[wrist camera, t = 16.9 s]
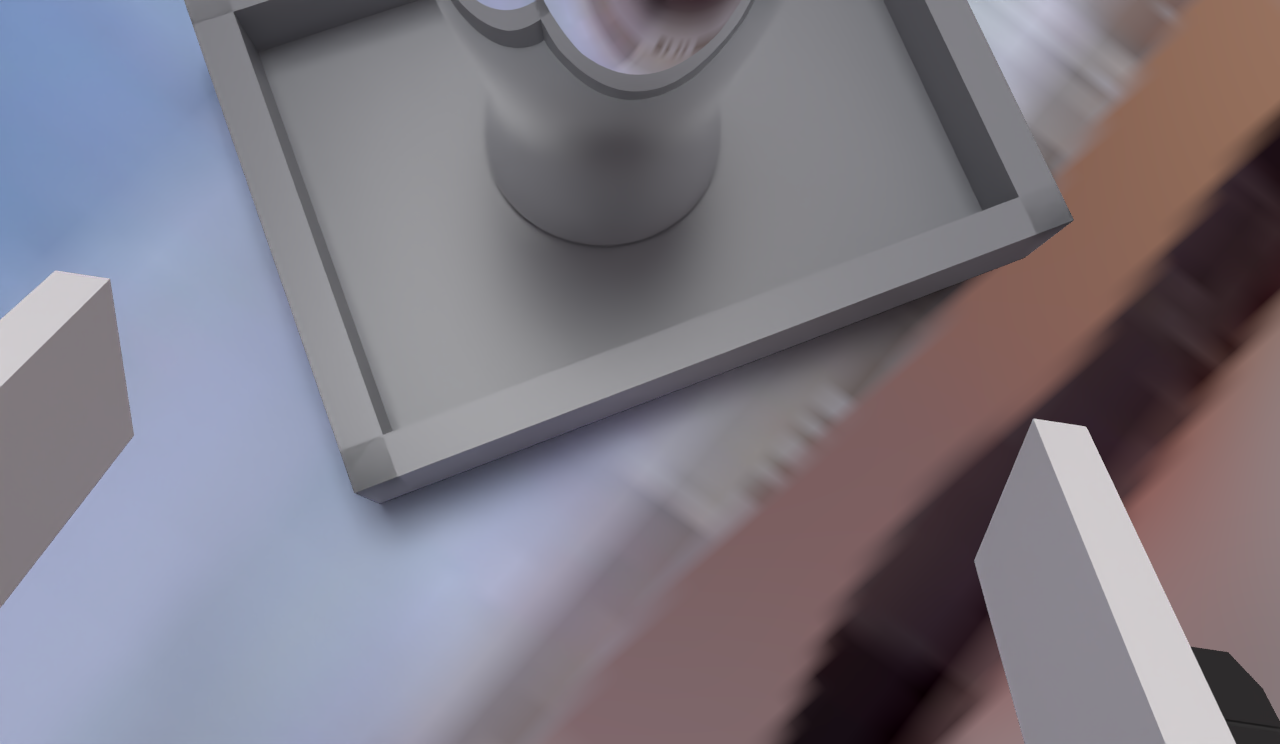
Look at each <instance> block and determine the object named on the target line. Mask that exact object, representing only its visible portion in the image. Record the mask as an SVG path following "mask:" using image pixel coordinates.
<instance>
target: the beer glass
mask: <svg viewBox="0 0 1280 744" xmlns="http://www.w3.org/2000/svg"><path fill="white" fill-rule="evenodd" d="M435 1H436V3H437V5H438V7H439V9H440V11H441V13H442V15H443V17H444V19H445V21H446V23H447V25H448V27H449V28H450V30H451V32H452V33H453V35H454V37H455V38H456V40H457V41H458V43H459V45H460V46H461V48H462V50H463V51H464V53H465V54H466V56H467V58H468V59H469V61H470V62H471V64H472V66H473V67H474V69H475V70H476V72H477V73H478V75H479V76H480V78H481V79H482V81H483V82H484V84H485V85H486V87H487V89H488V90H489V91H488V96H487V101H486V106H485V113H484V124H483V135H484V145H485V152H486V157H487V160H488V164H489V167H490V170H491V172H492V175H493V177H494V179H495V181H496V183H497V185H498V187H499V188H500V190H501V191H502V193H503V194H504V196H505V197H506V198H507V200H508V201H509V202H510V203H511V205H512V206H513V207H514V208H515V209H516V210H517V211H518V212H519V213H520V214H521V215H522V216H524V217H525V218H526V219H527V220H529V221H530V222H531V223H533V224H534V225H536V226H537V227H539V228H540V229H542V230H544V231H546V232H548V233H549V234H552V235H554V236H556V237H559V238H561V239H564V240H567V241H571V242H575V243H579V244H585V245H593V246H614V245H623V244H628V243H633V242H637V241H640V240H643V239H646V238H649V237H651V236H654V235H656V234H658V233H660V232H662V231H664V230H665V229H667V228H669V227H670V226H672V225H673V224H675V223H676V222H677V221H679V220H680V219H681V218H682V217H683V216H685V215H686V214H687V213H688V212H689V211H690V210H691V209H692V208H693V207H694V206H695V204H696V203H697V202H698V201H699V199H700V198H701V197H702V195H703V194H704V192H705V191H706V189H707V187H708V186H709V184H710V182H711V179H712V177H713V175H714V172H715V169H716V166H717V163H718V159H719V154H720V148H721V139H722V125H721V113H720V105H719V99H720V98H721V96H722V95H723V94H724V92H725V91H726V90H727V88H728V87H729V86H730V84H731V83H732V82H733V80H734V79H735V78H736V76H737V75H738V74H739V72H740V71H741V70H742V68H743V67H744V65H745V64H746V63H747V61H748V60H749V58H750V57H751V56H752V54H753V53H754V51H755V50H756V49H757V47H758V46H759V44H760V43H761V41H762V40H763V38H764V37H765V35H766V33H767V32H768V30H769V28H770V26H771V25H772V23H773V21H774V20H775V18H776V16H777V14H778V13H779V11H780V9H781V8H782V6H783V4H784V3H785V1H786V0H435Z"/></svg>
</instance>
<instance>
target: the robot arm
mask: <svg viewBox="0 0 1280 744" xmlns="http://www.w3.org/2000/svg"><path fill="white" fill-rule="evenodd" d="M133 436H134V433H133V426H132V420H131V413H130V407H129V400H128V393H127V387H126V380H125V374H124V367H123V361H122V354H121V348H120V341H119V334H118V328H117V321H116V315H115V308H114V302H113V295H112V288H111V282H110V279H108V278H102V277H95V276H88V275H82V274H75V273H69V272H62V271H54V272H53V273H52V274H51V275H50V276H49V277H47V278H46V279H45V280H44V281H43V282H42V283H41V284H40V285H39V286H37V287H36V288H35V289H34V290H33V291H32V292H31V293H30V294H28V295H27V296H26V297H25V298H24V299H23V300H22V301H21V302H20V303H18V304H17V305H16V306H15V307H14V308H13V309H12V310H11V311H9V312H8V313H7V314H6V315H5V316H4V317H3V318H2V319H1V320H0V608H1V606H2V605H3V604H4V603H5V601H6V600H7V599H8V597H9V596H10V595H11V594H12V592H13V591H14V590H15V588H16V587H17V586H18V585H19V583H20V582H21V581H22V579H23V578H24V577H25V575H26V574H27V573H28V572H29V570H30V569H31V568H32V566H33V565H34V564H35V563H36V561H37V560H38V559H39V557H40V556H41V555H42V554H43V552H44V551H45V550H46V548H47V547H48V546H49V545H50V543H51V542H52V541H53V539H54V538H55V537H56V535H57V534H58V533H59V532H60V530H61V529H62V528H63V526H64V525H65V524H66V523H67V521H68V520H69V519H70V517H71V516H72V515H73V514H74V512H75V511H76V510H77V508H78V507H79V506H80V504H81V503H82V502H83V501H84V499H85V498H86V497H87V495H88V494H89V493H90V492H91V490H92V489H93V488H94V486H95V485H96V484H97V483H98V481H99V480H100V479H101V477H102V476H103V475H104V474H105V472H106V471H107V470H108V468H109V467H110V466H111V464H112V463H113V462H114V461H115V459H116V458H117V457H118V455H119V454H120V453H121V452H122V450H123V449H124V448H125V446H126V445H127V444H128V443H129V441H130V440H131V439H132V437H133ZM974 562H975V565H976V569H977V573H978V576H979V580H980V583H981V587H982V591H983V594H984V598H985V602H986V605H987V609H988V612H989V616H990V620H991V623H992V627H993V631H994V634H995V638H996V641H997V645H998V649H999V652H1000V656H1001V660H1002V663H1003V667H1004V670H1005V674H1006V678H1007V681H1008V685H1009V689H1010V692H1011V696H1012V699H1013V703H1014V707H1015V710H1016V714H1017V717H1018V721H1019V725H1020V728H1021V732H1022V735H1023V739H1024V743H1025V744H1280V721H1279V719H1278V717H1277V715H1276V713H1275V711H1274V709H1273V708H1272V706H1271V704H1270V702H1269V700H1268V698H1267V696H1266V694H1265V692H1264V690H1263V689H1262V688H1261V686H1260V685H1259V684H1258V683H1257V682H1256V681H1255V680H1254V679H1253V678H1252V677H1251V676H1250V675H1249V674H1248V673H1247V672H1246V671H1245V670H1244V669H1243V668H1242V666H1240V664H1239V663H1238V662H1237V661H1236V660H1235V659H1234V658H1233V657H1232V656H1231V655H1230V654H1229V653H1228V652H1223V651H1216V650H1209V649H1202V648H1195V647H1190V645H1189V643H1188V641H1187V639H1186V637H1185V635H1184V632H1183V631H1182V628H1181V626H1180V624H1179V622H1178V620H1177V618H1176V615H1175V613H1174V611H1173V609H1172V607H1171V606H1170V603H1169V601H1168V599H1167V596H1166V594H1165V592H1164V590H1163V588H1162V586H1161V584H1160V582H1159V580H1158V577H1157V575H1156V573H1155V571H1154V569H1153V567H1152V565H1151V563H1150V560H1149V558H1148V556H1147V554H1146V552H1145V550H1144V548H1143V546H1142V544H1141V541H1140V539H1139V537H1138V535H1137V533H1136V531H1135V529H1134V527H1133V525H1132V522H1131V520H1130V518H1129V516H1128V514H1127V512H1126V510H1125V508H1124V505H1123V503H1122V501H1121V499H1120V497H1119V495H1118V493H1117V491H1116V489H1115V486H1114V484H1113V482H1112V480H1111V478H1110V476H1109V474H1108V472H1107V470H1106V467H1105V465H1104V463H1103V461H1102V459H1101V457H1100V455H1099V453H1098V450H1097V448H1096V446H1095V444H1094V442H1093V440H1092V438H1091V436H1090V434H1089V431H1088V429H1087V427H1085V426H1078V425H1072V424H1065V423H1058V422H1052V421H1045V420H1039V419H1033V420H1032V423H1031V425H1030V428H1029V430H1028V433H1027V435H1026V437H1025V440H1024V442H1023V445H1022V447H1021V449H1020V452H1019V454H1018V457H1017V459H1016V461H1015V464H1014V466H1013V469H1012V471H1011V473H1010V476H1009V478H1008V481H1007V483H1006V486H1005V488H1004V490H1003V493H1002V495H1001V498H1000V500H999V502H998V505H997V507H996V510H995V512H994V514H993V517H992V519H991V522H990V524H989V527H988V529H987V531H986V534H985V536H984V539H983V541H982V543H981V546H980V548H979V551H978V553H977V555H976V558H975V560H974Z"/></svg>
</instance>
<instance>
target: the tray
mask: <svg viewBox="0 0 1280 744" xmlns="http://www.w3.org/2000/svg"><path fill="white" fill-rule="evenodd" d="M184 1H185V4H186V7H187V10H188V13H189V16H190V19H191V21H192V24H193V27H194V30H195V33H196V36H197V39H198V42H199V45H200V48H201V50H202V53H203V56H204V59H205V62H206V65H207V68H208V71H209V74H210V76H211V79H212V82H213V85H214V88H215V91H216V94H217V97H218V100H219V103H220V105H221V108H222V111H223V114H224V117H225V120H226V123H227V126H228V129H229V131H230V134H231V137H232V140H233V143H234V146H235V149H236V152H237V155H238V158H239V160H240V163H241V166H242V169H243V172H244V175H245V178H246V181H247V184H248V186H249V189H250V192H251V195H252V198H253V201H254V204H255V207H256V210H257V213H258V215H259V218H260V221H261V224H262V227H263V230H264V233H265V236H266V239H267V241H268V244H269V247H270V250H271V253H272V256H273V259H274V262H275V265H276V268H277V270H278V273H279V276H280V279H281V282H282V285H283V288H284V291H285V294H286V296H287V299H288V302H289V305H290V308H291V311H292V314H293V317H294V320H295V323H296V325H297V328H298V331H299V334H300V337H301V340H302V343H303V346H304V349H305V351H306V354H307V357H308V360H309V363H310V366H311V369H312V372H313V375H314V378H315V380H316V383H317V386H318V389H319V392H320V395H321V398H322V401H323V404H324V406H325V409H326V412H327V415H328V418H329V421H330V424H331V427H332V430H333V433H334V435H335V438H336V441H337V444H338V447H339V450H340V453H341V456H342V459H343V461H344V464H345V467H346V470H347V473H348V476H349V479H350V482H351V485H352V488H353V490H354V493H356V494H358V495H360V496H363V497H365V498H367V499H370V500H372V501H374V502H377V503H379V504H381V503H383V502H386V501H388V500H391V499H394V498H396V497H399V496H401V495H404V494H407V493H409V492H412V491H415V490H417V489H420V488H422V487H425V486H428V485H430V484H433V483H436V482H438V481H441V480H443V479H446V478H449V477H451V476H454V475H457V474H459V473H462V472H464V471H467V470H470V469H472V468H475V467H477V466H480V465H483V464H485V463H488V462H491V461H493V460H496V459H498V458H501V457H504V456H506V455H509V454H512V453H514V452H517V451H519V450H522V449H525V448H527V447H530V446H533V445H535V444H538V443H540V442H543V441H546V440H548V439H551V438H553V437H556V436H559V435H561V434H564V433H567V432H569V431H572V430H574V429H577V428H580V427H582V426H585V425H588V424H590V423H593V422H595V421H598V420H601V419H603V418H606V417H609V416H611V415H614V414H616V413H619V412H622V411H624V410H627V409H629V408H632V407H635V406H637V405H640V404H643V403H645V402H648V401H650V400H653V399H656V398H658V397H661V396H664V395H666V394H669V393H671V392H674V391H677V390H679V389H682V388H685V387H687V386H690V385H692V384H695V383H698V382H700V381H703V380H705V379H708V378H711V377H713V376H716V375H719V374H721V373H724V372H726V371H729V370H732V369H734V368H737V367H740V366H742V365H745V364H747V363H750V362H753V361H755V360H758V359H761V358H763V357H766V356H768V355H771V354H774V353H776V352H779V351H781V350H784V349H787V348H789V347H792V346H795V345H797V344H800V343H802V342H805V341H808V340H810V339H813V338H816V337H818V336H821V335H823V334H826V333H829V332H831V331H834V330H837V329H839V328H842V327H844V326H847V325H850V324H852V323H855V322H857V321H860V320H863V319H865V318H868V317H871V316H873V315H876V314H878V313H881V312H884V311H886V310H889V309H892V308H894V307H897V306H899V305H902V304H905V303H907V302H910V301H913V300H915V299H918V298H920V297H923V296H926V295H928V294H931V293H933V292H936V291H939V290H941V289H944V288H947V287H949V286H952V285H954V284H957V283H960V282H962V281H965V280H968V279H970V278H973V277H975V276H978V275H981V274H983V273H986V272H989V271H991V270H994V269H996V268H999V267H1002V266H1004V265H1007V264H1010V263H1012V262H1015V261H1017V260H1020V259H1023V258H1025V257H1026V256H1027V255H1029V254H1030V253H1031V252H1033V251H1034V250H1035V249H1037V248H1038V247H1039V246H1041V245H1042V244H1043V243H1045V242H1046V241H1047V240H1048V239H1050V238H1051V237H1052V236H1054V235H1055V234H1056V233H1058V232H1059V231H1060V230H1062V229H1063V228H1064V227H1065V226H1066V225H1068V224H1069V223H1071V222H1072V221H1073V217H1072V216H1071V213H1070V211H1069V209H1068V208H1067V205H1066V203H1065V201H1064V199H1063V197H1062V195H1061V193H1060V191H1059V189H1058V187H1057V184H1056V182H1055V180H1054V178H1053V176H1052V174H1051V172H1050V170H1049V168H1048V166H1047V164H1046V162H1045V160H1044V158H1043V156H1042V154H1041V152H1040V150H1039V147H1038V145H1037V143H1036V141H1035V139H1034V137H1033V135H1032V133H1031V131H1030V129H1029V127H1028V125H1027V123H1026V121H1025V119H1024V117H1023V115H1022V113H1021V110H1020V108H1019V106H1018V104H1017V102H1016V100H1015V98H1014V96H1013V94H1012V92H1011V90H1010V88H1009V86H1008V84H1007V82H1006V80H1005V78H1004V76H1003V73H1002V71H1001V69H1000V67H999V65H998V63H997V61H996V59H995V57H994V55H993V53H992V51H991V49H990V47H989V45H988V43H987V41H986V39H985V36H984V34H983V32H982V30H981V28H980V26H979V24H978V22H977V20H976V18H975V16H974V14H973V12H972V10H971V8H970V6H969V4H968V2H967V0H786V1H785V3H784V4H783V6H782V8H781V9H780V11H779V13H778V14H777V16H776V18H775V20H774V21H773V23H772V25H771V26H770V28H769V30H768V32H767V33H766V35H765V37H764V38H763V40H762V41H761V43H760V44H759V46H758V47H757V49H756V50H755V51H754V53H753V54H752V56H751V57H750V58H749V60H748V61H747V63H746V64H745V65H744V67H743V68H742V70H741V71H740V72H739V74H738V75H737V76H736V78H735V79H734V80H733V82H732V83H731V84H730V86H729V87H728V88H727V90H726V91H725V92H724V94H723V95H722V96H721V98H720V99H719V105H720V113H721V125H722V139H721V148H720V154H719V159H718V163H717V166H716V169H715V172H714V175H713V177H712V179H711V182H710V184H709V186H708V187H707V189H706V191H705V192H704V194H703V195H702V197H701V198H700V199H699V201H698V202H697V203H696V204H695V206H694V207H693V208H692V209H691V210H690V211H689V212H688V213H687V214H686V215H685V216H683V217H682V218H681V219H680V220H679V221H677V222H676V223H675V224H673V225H672V226H670V227H669V228H667V229H665V230H664V231H662V232H660V233H658V234H656V235H654V236H651V237H649V238H646V239H643V240H640V241H637V242H633V243H628V244H623V245H614V246H593V245H585V244H579V243H575V242H571V241H567V240H564V239H561V238H559V237H556V236H554V235H552V234H549V233H548V232H546V231H544V230H542V229H540V228H539V227H537V226H536V225H534V224H533V223H531V222H530V221H529V220H527V219H526V218H525V217H524V216H522V215H521V214H520V213H519V212H518V211H517V210H516V209H515V208H514V207H513V206H512V205H511V203H510V202H509V201H508V200H507V198H506V197H505V196H504V194H503V193H502V191H501V190H500V188H499V187H498V185H497V183H496V181H495V179H494V177H493V175H492V172H491V170H490V167H489V164H488V160H487V157H486V152H485V145H484V135H483V124H484V113H485V106H486V101H487V96H488V91H489V90H488V89H487V87H486V85H485V84H484V82H483V81H482V79H481V78H480V76H479V75H478V73H477V72H476V70H475V69H474V67H473V66H472V64H471V62H470V61H469V59H468V58H467V56H466V54H465V53H464V51H463V50H462V48H461V46H460V45H459V43H458V41H457V40H456V38H455V37H454V35H453V33H452V32H451V30H450V28H449V27H448V25H447V23H446V21H445V19H444V17H443V15H442V13H441V11H440V9H439V7H438V5H437V3H436V1H435V0H184Z"/></svg>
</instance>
